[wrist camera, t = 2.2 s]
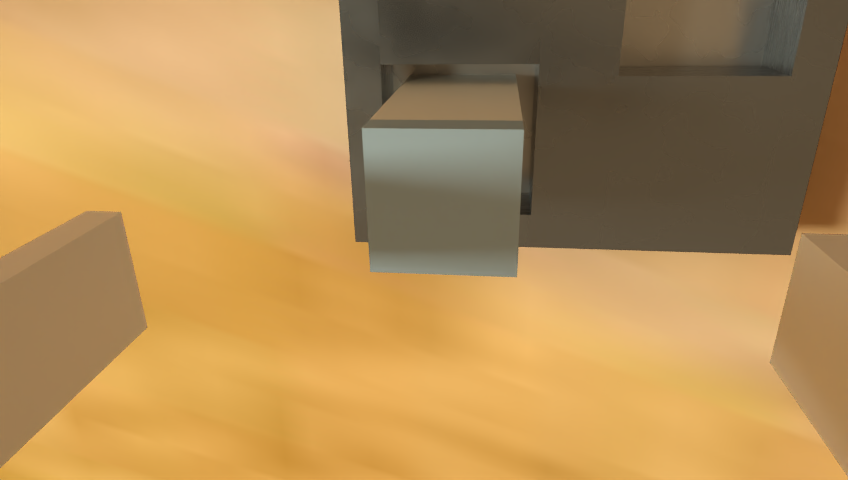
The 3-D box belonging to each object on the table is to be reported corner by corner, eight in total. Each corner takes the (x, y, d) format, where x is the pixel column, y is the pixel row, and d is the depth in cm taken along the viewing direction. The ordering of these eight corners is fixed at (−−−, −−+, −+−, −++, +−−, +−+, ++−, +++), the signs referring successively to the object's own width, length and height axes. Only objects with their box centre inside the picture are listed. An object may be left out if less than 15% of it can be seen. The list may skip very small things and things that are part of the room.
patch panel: (370, 214, 26) (355, 241, 24) (350, -133, 21) (328, -149, 18) (758, 223, 24) (790, 254, 22) (840, -153, 19) (896, -175, 17)
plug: (413, 174, 25) (370, 271, 17) (411, 74, 23) (361, 128, 15) (511, 176, 24) (516, 276, 16) (515, 74, 23) (524, 129, 15)
